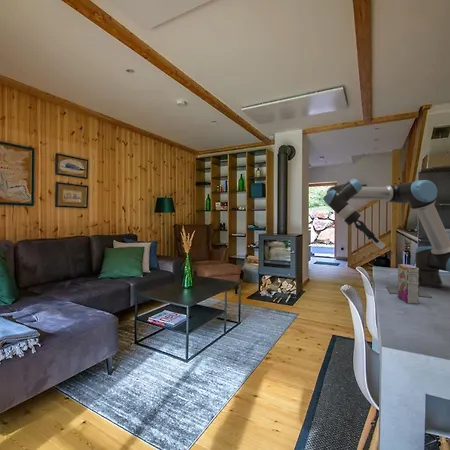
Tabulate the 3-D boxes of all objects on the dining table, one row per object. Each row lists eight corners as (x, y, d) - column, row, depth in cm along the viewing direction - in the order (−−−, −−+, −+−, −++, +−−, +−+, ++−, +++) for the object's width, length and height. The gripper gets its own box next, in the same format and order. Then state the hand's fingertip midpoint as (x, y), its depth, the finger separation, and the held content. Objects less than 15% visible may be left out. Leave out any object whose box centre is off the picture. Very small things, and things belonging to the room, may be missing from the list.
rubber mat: (424, 291, 151) (424, 290, 151) (432, 298, 137) (432, 297, 137) (386, 287, 159) (386, 286, 159) (389, 293, 144) (389, 292, 144)
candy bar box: (396, 297, 138) (397, 263, 138) (407, 297, 137) (408, 264, 137) (406, 303, 127) (407, 267, 127) (418, 304, 126) (420, 268, 126)
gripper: (344, 220, 154) (373, 249, 148) (342, 219, 132) (377, 253, 126) (355, 211, 152) (385, 240, 146) (355, 208, 129) (391, 242, 123)
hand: (382, 246), depth 136 cm, fingers open, 13 cm apart
